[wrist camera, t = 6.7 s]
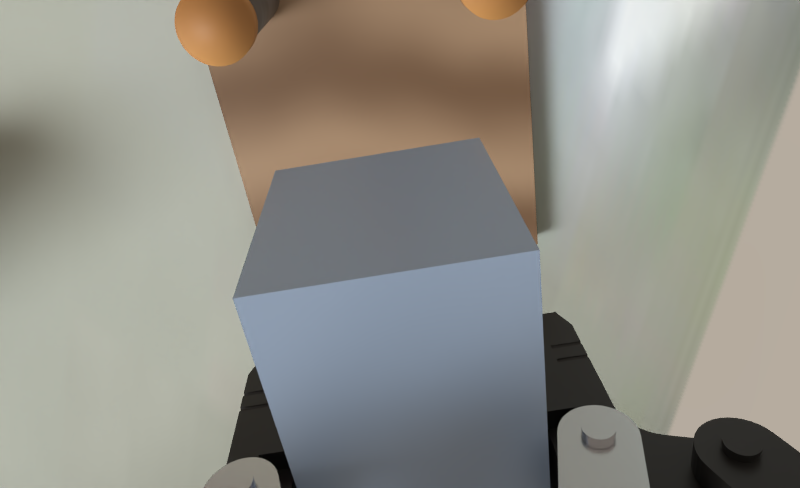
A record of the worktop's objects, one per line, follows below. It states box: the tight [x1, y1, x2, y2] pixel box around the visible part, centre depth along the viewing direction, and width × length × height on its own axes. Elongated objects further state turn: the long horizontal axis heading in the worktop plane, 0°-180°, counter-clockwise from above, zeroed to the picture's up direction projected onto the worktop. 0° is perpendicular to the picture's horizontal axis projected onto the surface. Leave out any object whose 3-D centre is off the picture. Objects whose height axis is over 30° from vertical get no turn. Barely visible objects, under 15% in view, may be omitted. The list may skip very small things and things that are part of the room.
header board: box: [175, 0, 538, 244], centre depth 21 cm, size 16×12×8 cm
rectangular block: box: [233, 138, 550, 488], centre depth 12 cm, size 4×9×4 cm, turn 9°
